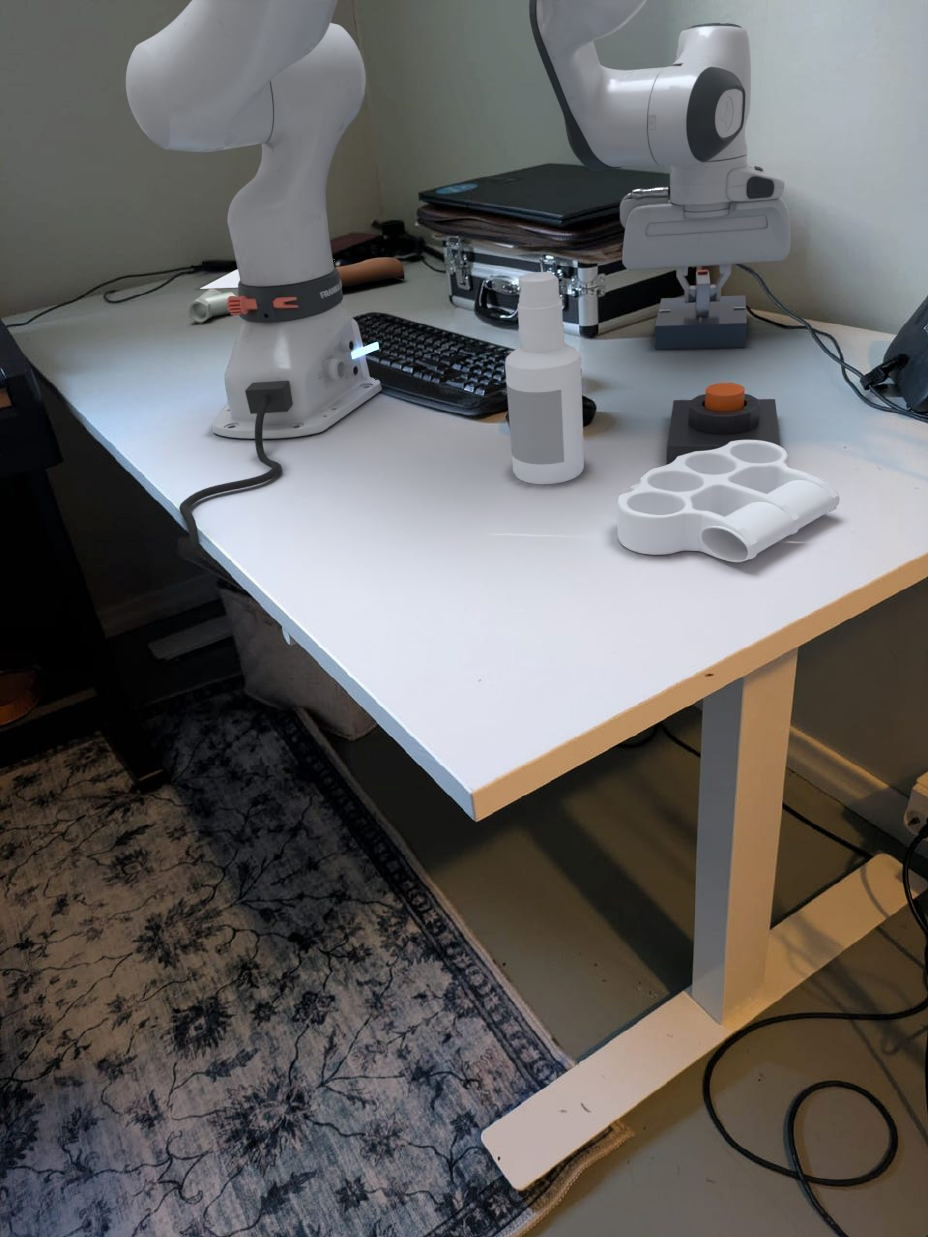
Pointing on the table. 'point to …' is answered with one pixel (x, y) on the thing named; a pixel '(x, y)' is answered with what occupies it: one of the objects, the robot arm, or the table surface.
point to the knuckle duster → (721, 502)
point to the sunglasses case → (371, 271)
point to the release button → (724, 397)
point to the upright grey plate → (702, 293)
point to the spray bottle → (544, 388)
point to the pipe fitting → (209, 305)
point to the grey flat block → (701, 324)
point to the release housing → (719, 425)
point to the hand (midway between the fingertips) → (702, 301)
